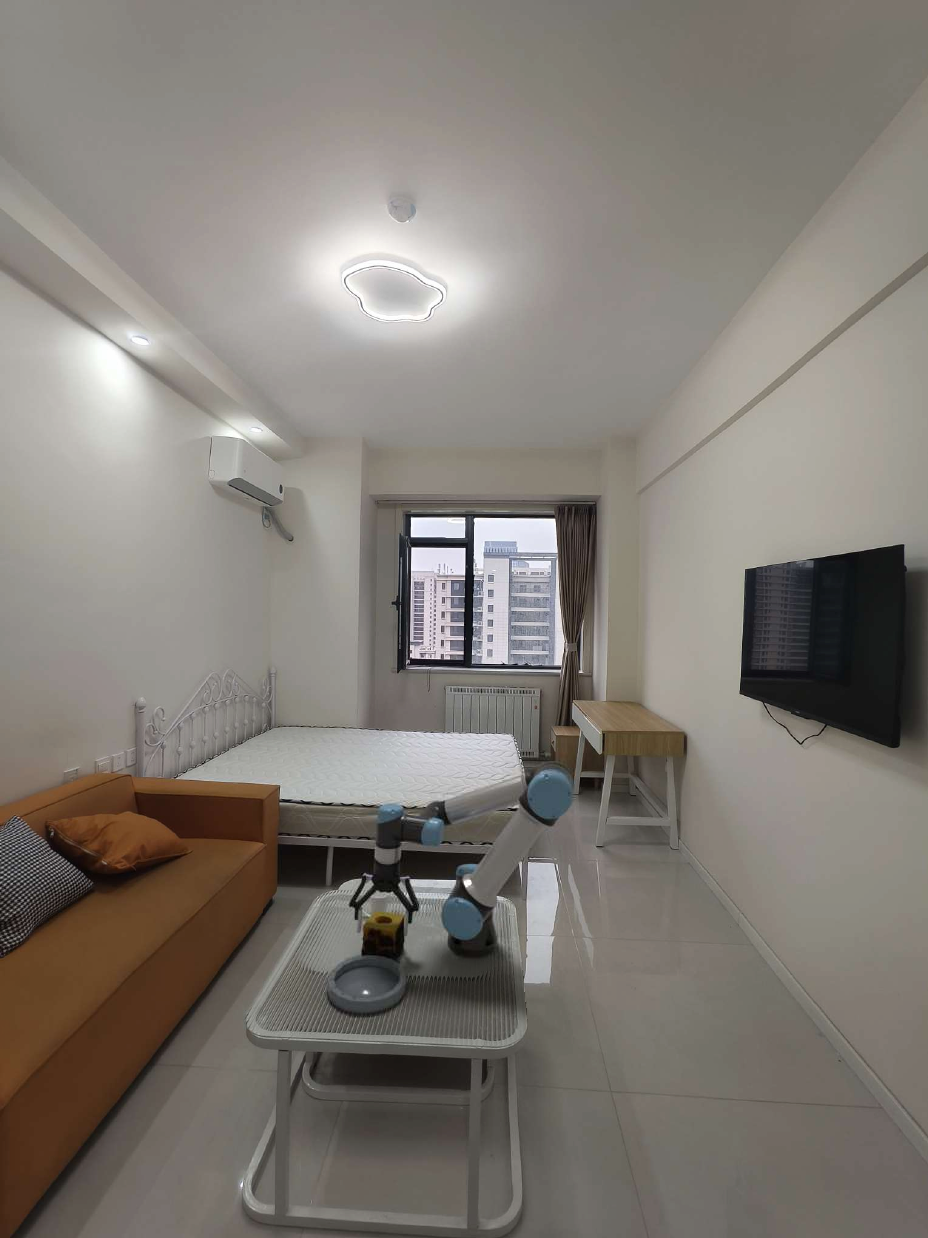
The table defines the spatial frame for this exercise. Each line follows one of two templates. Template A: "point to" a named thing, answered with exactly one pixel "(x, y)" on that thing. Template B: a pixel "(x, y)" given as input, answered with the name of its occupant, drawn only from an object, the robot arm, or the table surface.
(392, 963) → the dish
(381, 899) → the cup
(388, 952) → the candle
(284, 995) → the table surface
